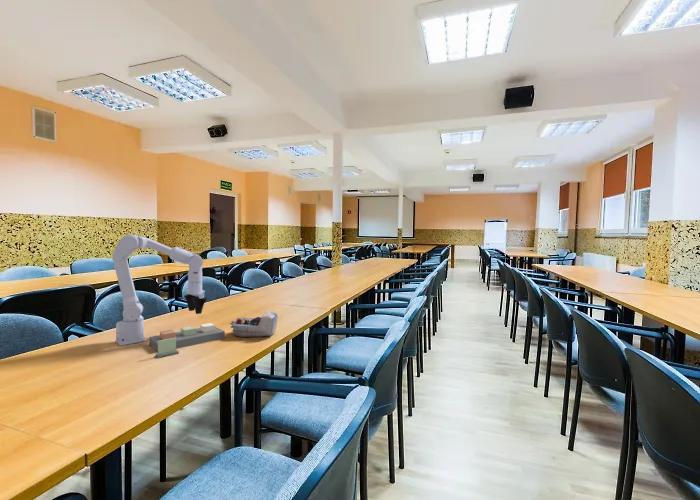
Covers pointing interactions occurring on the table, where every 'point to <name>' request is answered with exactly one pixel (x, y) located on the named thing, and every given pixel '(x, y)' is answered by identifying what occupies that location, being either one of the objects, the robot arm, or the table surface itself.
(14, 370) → the table surface
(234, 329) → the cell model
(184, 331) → the sage block
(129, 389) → the table surface
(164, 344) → the card
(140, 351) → the table surface
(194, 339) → the button board
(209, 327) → the cream block
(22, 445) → the table surface
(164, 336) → the terracotta block
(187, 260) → the robot arm
